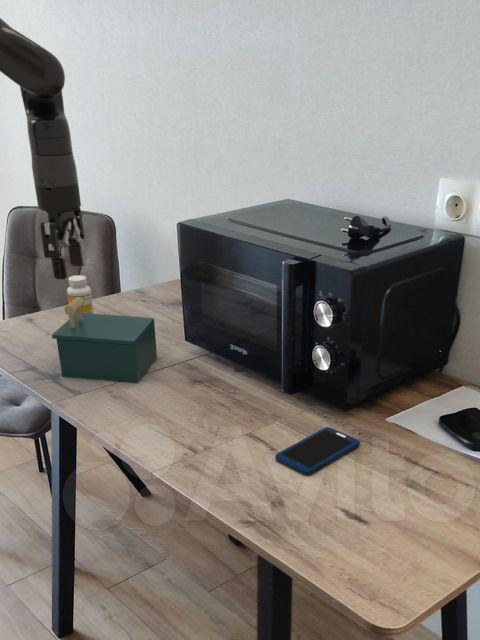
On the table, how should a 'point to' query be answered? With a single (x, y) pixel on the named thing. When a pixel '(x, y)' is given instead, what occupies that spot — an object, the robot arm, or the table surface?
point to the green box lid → (101, 326)
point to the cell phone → (317, 450)
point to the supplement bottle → (80, 292)
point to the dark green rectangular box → (108, 358)
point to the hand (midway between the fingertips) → (69, 271)
